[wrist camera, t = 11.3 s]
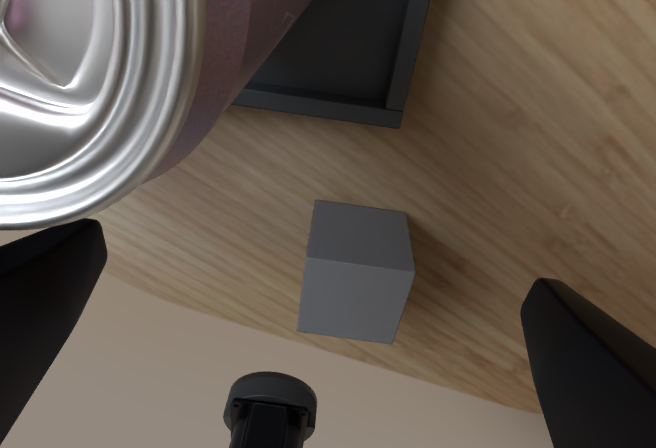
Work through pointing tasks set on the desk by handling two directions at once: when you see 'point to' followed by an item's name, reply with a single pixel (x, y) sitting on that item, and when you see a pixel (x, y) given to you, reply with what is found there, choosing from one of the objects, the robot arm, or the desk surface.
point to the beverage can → (116, 93)
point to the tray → (343, 62)
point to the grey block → (356, 272)
